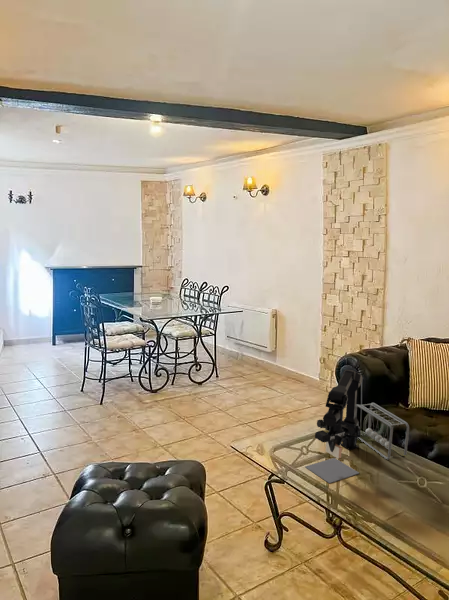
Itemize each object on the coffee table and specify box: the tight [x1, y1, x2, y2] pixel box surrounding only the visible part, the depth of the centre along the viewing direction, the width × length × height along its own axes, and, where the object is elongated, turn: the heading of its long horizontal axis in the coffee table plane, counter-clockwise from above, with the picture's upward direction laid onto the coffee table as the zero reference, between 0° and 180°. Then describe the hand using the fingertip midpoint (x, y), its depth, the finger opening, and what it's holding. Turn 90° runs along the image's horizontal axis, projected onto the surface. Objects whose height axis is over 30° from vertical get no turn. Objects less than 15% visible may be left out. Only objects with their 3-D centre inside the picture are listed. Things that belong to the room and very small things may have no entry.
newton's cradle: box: [356, 402, 410, 461], centre depth 257 cm, size 30×10×18 cm, turn 20°
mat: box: [304, 457, 360, 484], centre depth 232 cm, size 18×16×1 cm
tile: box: [325, 442, 343, 460], centre depth 229 cm, size 2×8×5 cm, turn 32°
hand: (333, 451), depth 229 cm, fingers closed on tile, 2 cm apart
